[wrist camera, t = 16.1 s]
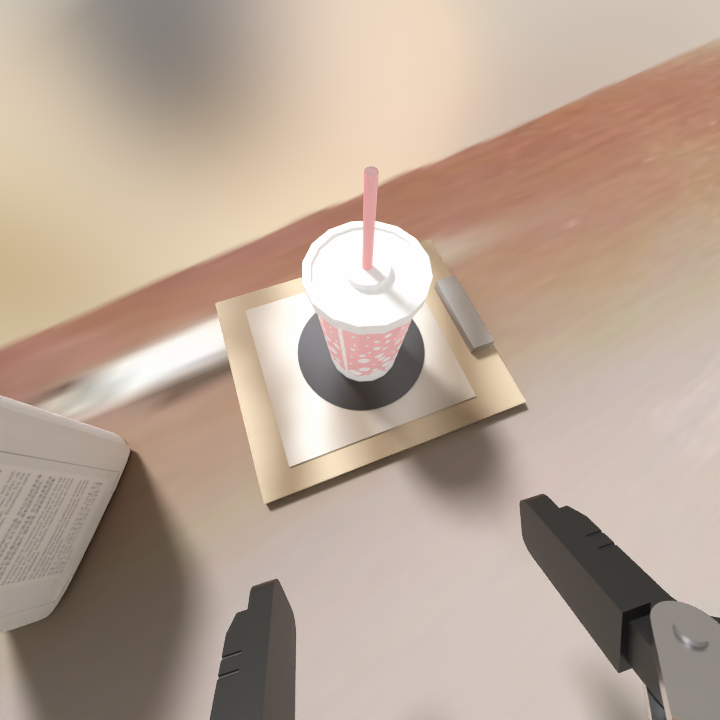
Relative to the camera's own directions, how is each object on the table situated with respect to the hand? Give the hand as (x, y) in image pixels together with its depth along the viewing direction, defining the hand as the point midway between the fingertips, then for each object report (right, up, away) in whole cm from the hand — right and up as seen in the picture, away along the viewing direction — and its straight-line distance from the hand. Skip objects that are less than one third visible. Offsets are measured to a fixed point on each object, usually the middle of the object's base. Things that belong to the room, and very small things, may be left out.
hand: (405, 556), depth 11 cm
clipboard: (-1, +7, +14) cm, 16 cm away
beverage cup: (-1, +7, +13) cm, 15 cm away
